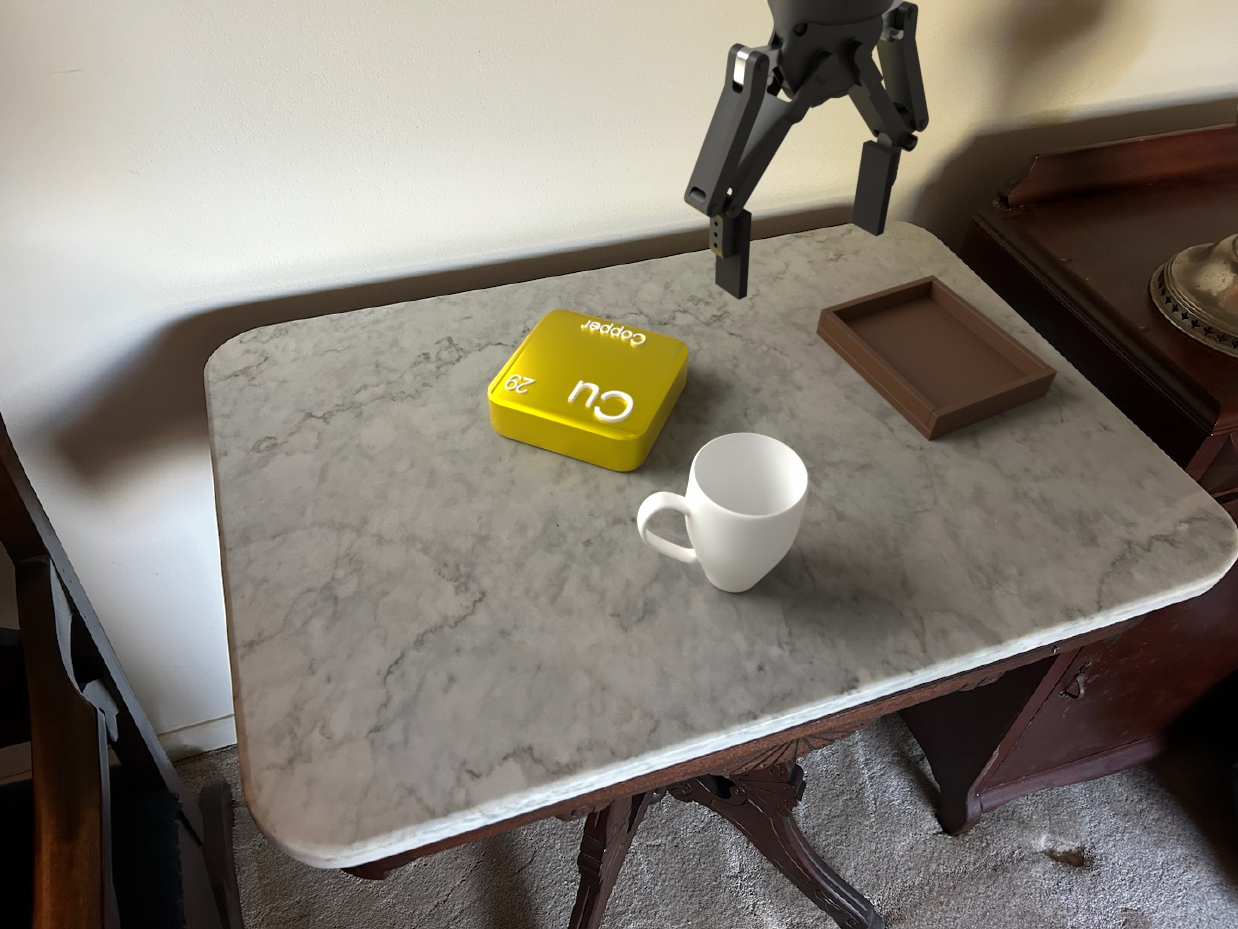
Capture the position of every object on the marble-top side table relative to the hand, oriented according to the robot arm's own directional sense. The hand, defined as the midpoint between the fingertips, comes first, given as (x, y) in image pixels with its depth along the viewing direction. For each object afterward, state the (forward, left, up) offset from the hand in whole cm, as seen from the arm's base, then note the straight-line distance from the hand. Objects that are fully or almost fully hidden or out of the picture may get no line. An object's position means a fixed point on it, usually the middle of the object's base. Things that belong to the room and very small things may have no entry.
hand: (801, 258), depth 63 cm
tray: (+2, -21, -19) cm, 28 cm away
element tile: (+11, +12, -19) cm, 25 cm away
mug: (-11, +12, -19) cm, 25 cm away
